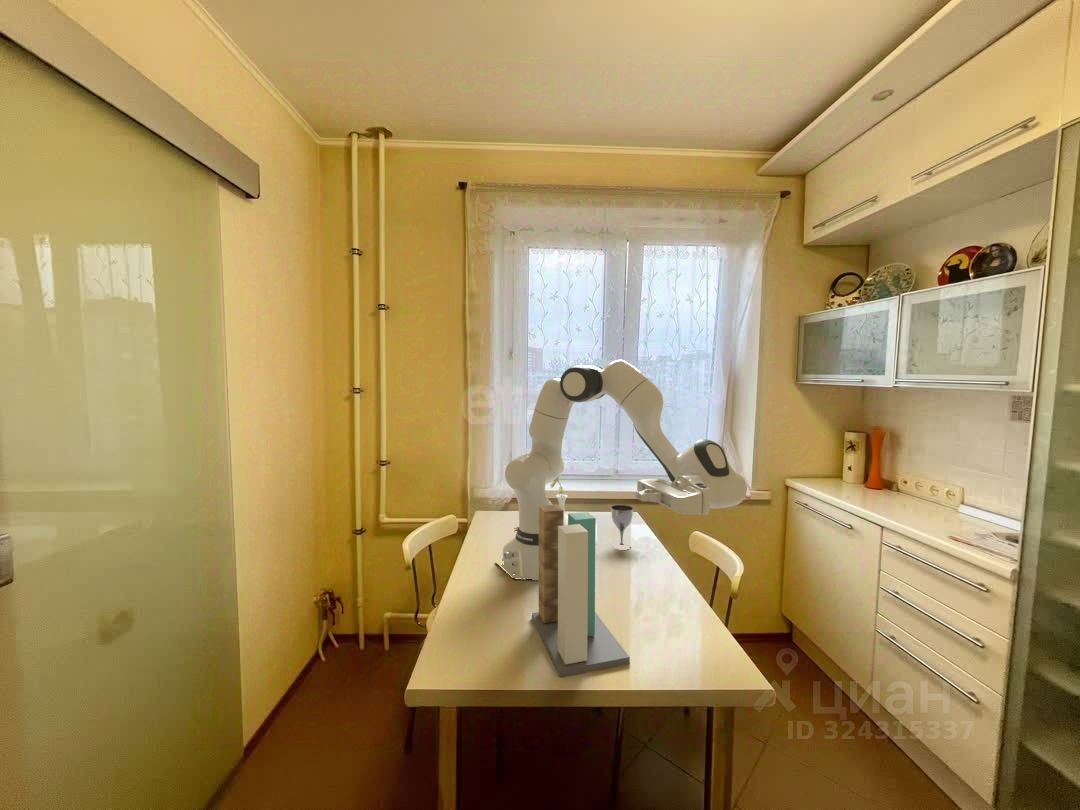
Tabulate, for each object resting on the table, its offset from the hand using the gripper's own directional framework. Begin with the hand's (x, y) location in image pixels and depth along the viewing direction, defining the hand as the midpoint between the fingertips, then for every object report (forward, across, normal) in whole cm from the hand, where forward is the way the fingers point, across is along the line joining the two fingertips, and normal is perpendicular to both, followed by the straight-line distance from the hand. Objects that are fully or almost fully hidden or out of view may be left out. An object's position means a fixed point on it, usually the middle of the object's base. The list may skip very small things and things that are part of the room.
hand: (638, 496), depth 104 cm
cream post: (+20, +8, +32) cm, 38 cm away
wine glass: (-21, -50, +34) cm, 64 cm away
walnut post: (+20, -8, +32) cm, 38 cm away
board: (+16, 0, +34) cm, 37 cm away
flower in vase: (-6, -76, +34) cm, 83 cm away
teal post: (+15, 0, +32) cm, 35 cm away
